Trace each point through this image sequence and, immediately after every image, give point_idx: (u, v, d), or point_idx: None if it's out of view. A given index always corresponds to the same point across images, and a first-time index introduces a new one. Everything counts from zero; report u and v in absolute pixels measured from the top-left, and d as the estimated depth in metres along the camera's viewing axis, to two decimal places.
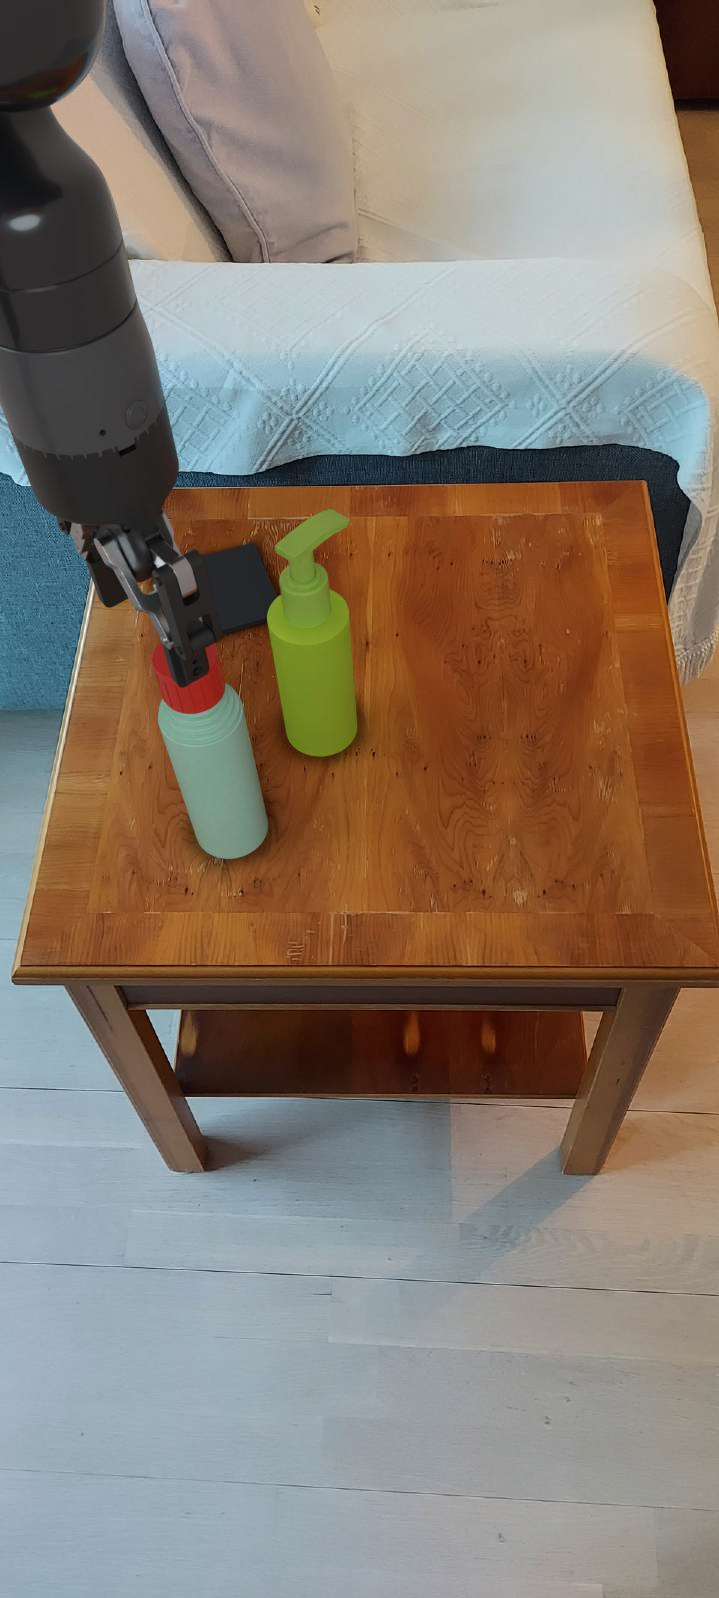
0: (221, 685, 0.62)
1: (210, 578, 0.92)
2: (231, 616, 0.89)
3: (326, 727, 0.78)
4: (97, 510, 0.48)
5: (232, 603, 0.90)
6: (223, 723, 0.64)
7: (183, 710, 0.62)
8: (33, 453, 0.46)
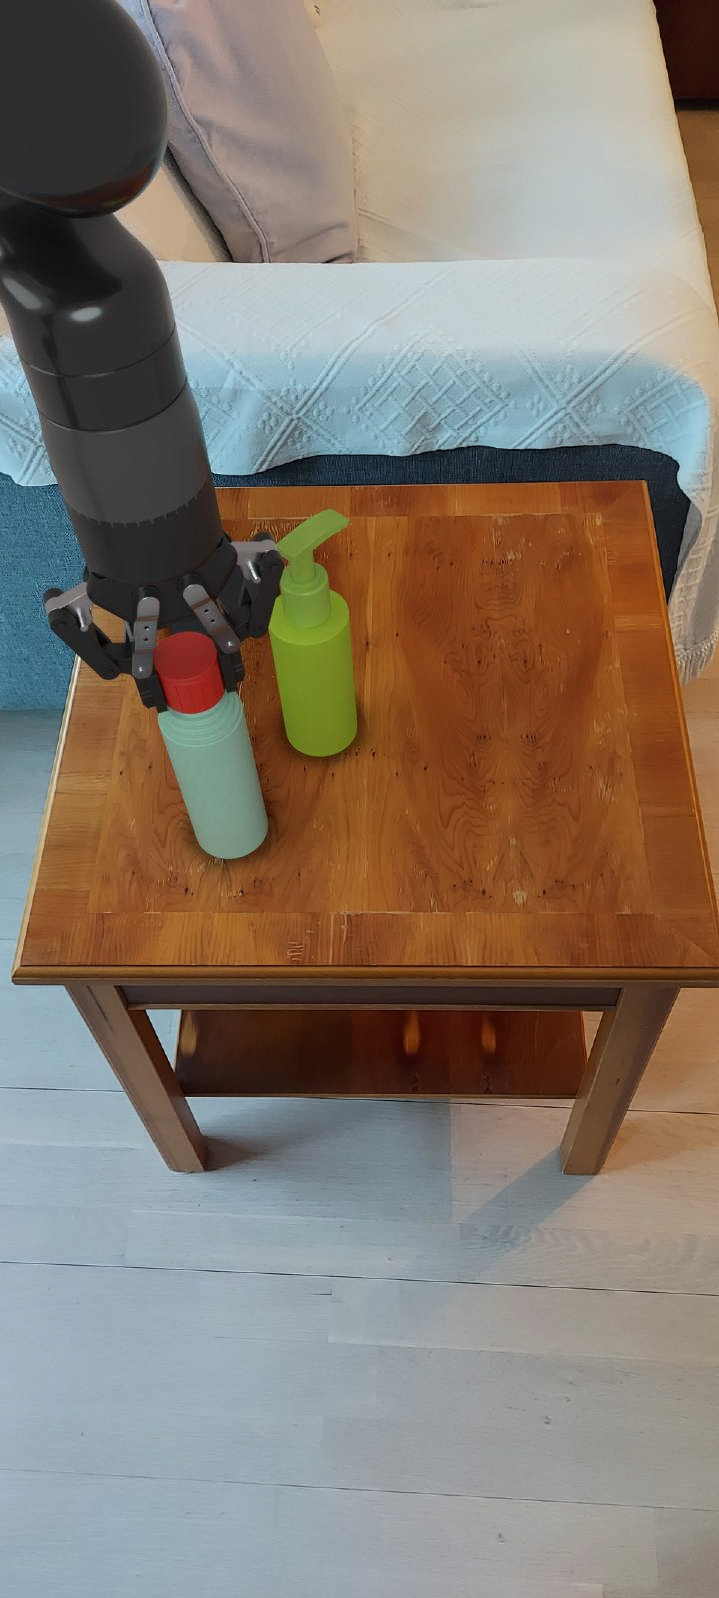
0: (221, 685, 0.62)
1: None
2: None
3: (326, 727, 0.78)
4: (215, 532, 0.52)
5: (232, 603, 0.90)
6: (223, 723, 0.64)
7: (183, 710, 0.62)
8: (176, 514, 0.48)
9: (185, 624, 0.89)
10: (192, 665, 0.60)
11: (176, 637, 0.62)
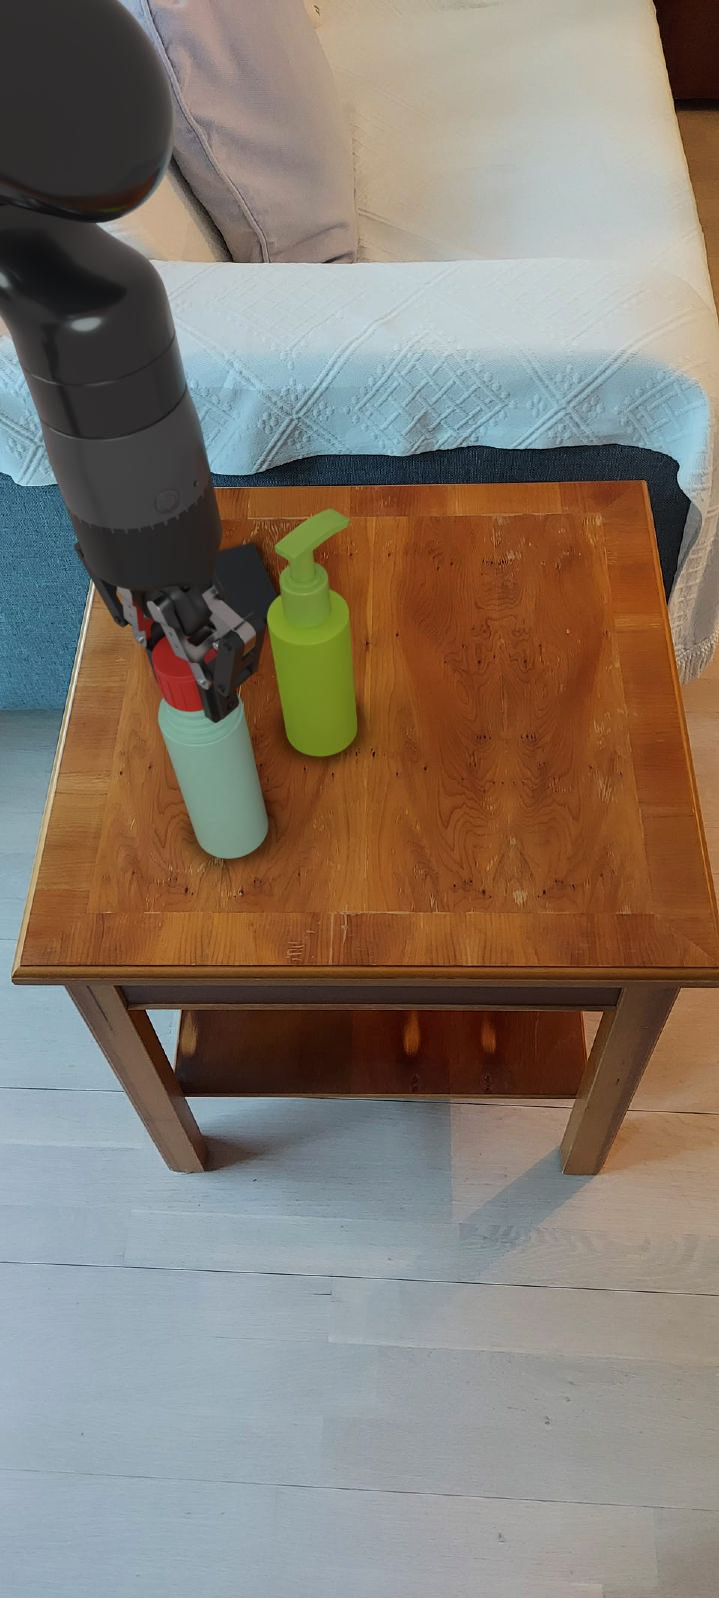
0: None
1: None
2: None
3: (326, 727, 0.78)
4: None
5: (232, 603, 0.90)
6: (223, 722, 0.64)
7: None
8: None
9: None
10: None
11: (166, 669, 0.60)
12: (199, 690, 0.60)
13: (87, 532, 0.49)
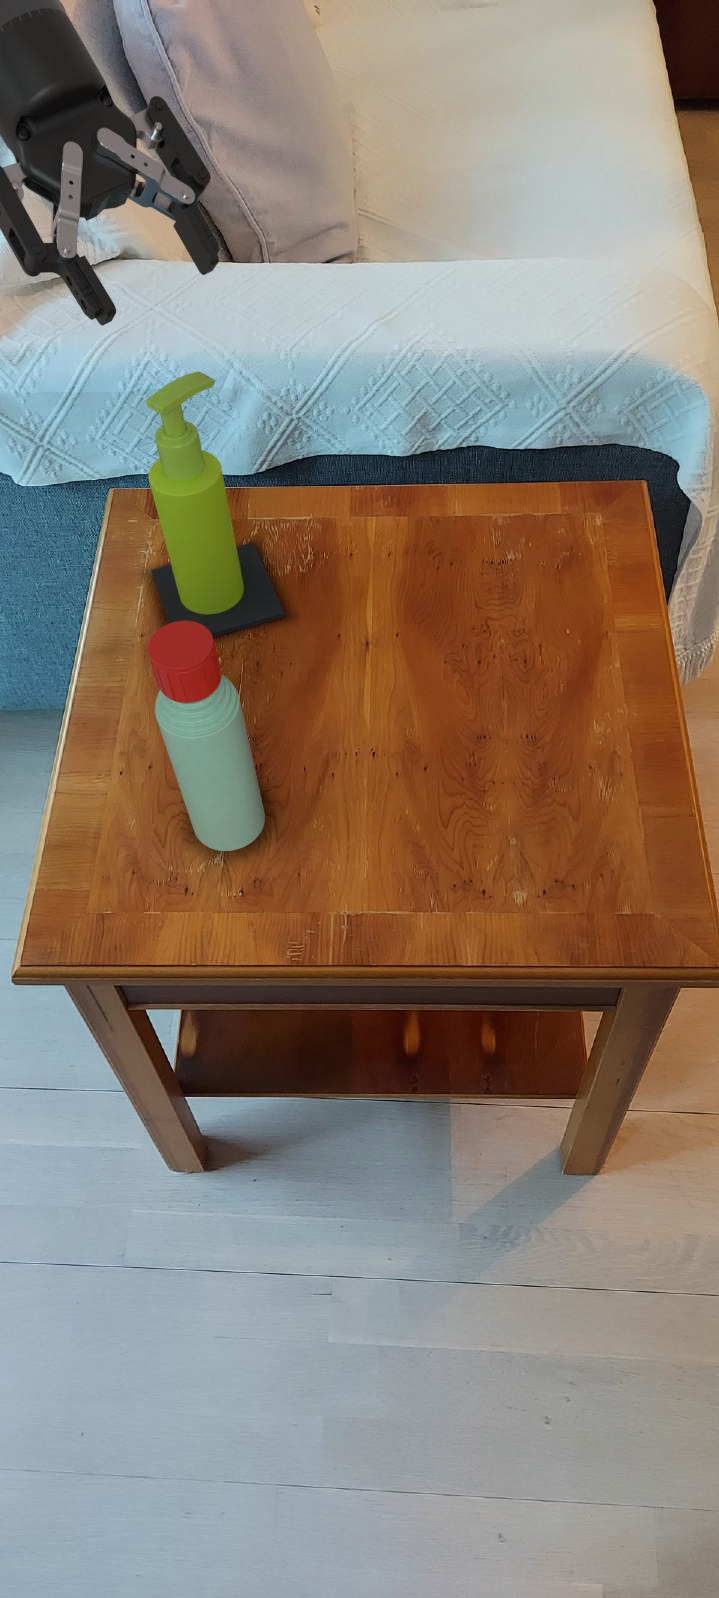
0: (162, 686, 0.62)
1: None
2: (231, 616, 0.89)
3: (210, 583, 0.86)
4: None
5: None
6: (222, 712, 0.64)
7: None
8: None
9: None
10: (163, 645, 0.61)
11: (206, 645, 0.61)
12: (189, 218, 0.67)
13: (40, 23, 0.60)
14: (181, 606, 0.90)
